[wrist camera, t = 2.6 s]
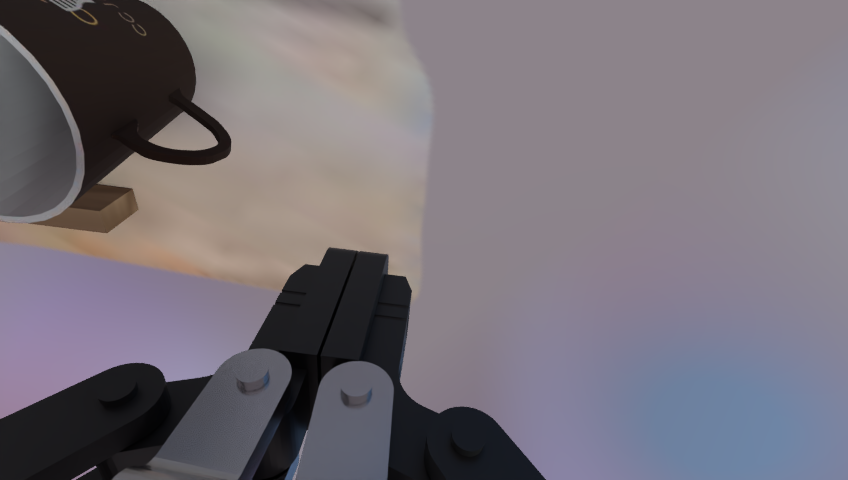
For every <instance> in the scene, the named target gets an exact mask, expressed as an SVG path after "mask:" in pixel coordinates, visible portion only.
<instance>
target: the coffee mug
mask: <svg viewBox="0 0 848 480" xmlns="http://www.w3.org/2000/svg"><path fill="white" fill-rule="evenodd" d="M195 85H196V74H195V67H194V63H193V59H192V56H191V54H190V51H189V49H188V47H187V45H186V43H185V41H184V40H183V38H182V37H181V35H180V33H179V32H178V31H177V30H176V28H175V27H174V26H173V25H172V24H171V23H170V21H169V20H167V19H166V18H165V17H164V16H163V15H162V14H161V13H160V12H158V11H157V10H155V9H154V8H152V7H151V6H149V5H148V4H146V3H144V2H141V1H139V0H0V221H3V222H9V223H32V222H39V221H45V220H48V219H50V218H52V217H54V216H57V215H59V214H61V213H62V212H63V211H65V210H66V209H67V208H68V207H69V206H70V205H72V204H73V203H74V202H75V201H76V200H78V199H79V198H80V197H81V196H82V195H84V194H85V193H86V192H87V191H88V190H90V189H91V188H92V187H93V186H94V185H96V184H97V183H98V182H99V181H100V180H102V179H103V178H104V177H105V176H106V175H108V174H109V173H110V172H111V171H112V170H114V169H115V168H116V167H117V166H118V165H120V164H121V163H122V162H123V161H124V160H125V159H127V158H128V157H129V156H130V155H131V154H133V153H134V152H136V153H138V154H140V155H141V156H143V157H146V158H148V159H152V160H156V161H161V162H166V163H173V164H182V165H206V164H211V163H214V162H217V161H219V160H221V159H224V158H226V157H227V156H228V155H229V154H230V151H231V138H230V136H229V134H228V133H227V131H226V130H225V129H224V128H223V127H222V126H221V124H220V123H219V122H218V121H217V120H215V119H214V118H213V117H211V116H210V115H209V114H207V113H206V112H205V111H203V110H202V109H201V108H199V107H198V106H196V105H195V104H194V103H192V102H191V101H192V98H193V95H194V92H195ZM183 111H184V112H186V113H187V114H188V115H190V116H191V117H193V118H194V119H195V120H197V121H198V122H199V123H200V124H202V125H203V126H204V127H206V128H207V129H208V130H209V131H211V132H212V133H213V135H214V136H215V138H216V140H217V141H218V144H217V145H216V146H215V147H212V148H209V149H205V150H196V151H189V150H175V149H169V148H164V147H161V146H158V145H155V144H153V143H151V142H149V141H148V140H149V139H151V138H152V137H153V136H154V135H155V134H157V133H158V132H159V131H160V130H161V129H163V128H164V127H165V126H166V125H167V124H169V123H170V122H171V121H172V120H173V119H175V118H176V117H177V116H178V115H179V114H180V113H182V112H183Z"/></svg>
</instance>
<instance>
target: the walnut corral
mask: <svg viewBox="0 0 848 480" xmlns="http://www.w3.org/2000/svg"><path fill="white" fill-rule="evenodd" d="M137 210H138V207H137V203H136V200H135V196H134V193H133V189H129V188H121V187H113V186H104V185H94V186H93V187H92V188H91V189H90V190H88V191H87V192H86V193H85V194H84V195H82V196H81V197H80V198H79V199H78V200H76V201H75V202H74V203H73V204H72V205H70V206H69V207H68V208H67V209H66V210H65V211H63V212H62V213H61V214H59V215H57V216H54V217H52V218H50V219H48V220H45V221H39V222H32V223H29V224H37V225H45V226H53V227H61V228H69V229H77V230H85V231H93V232H101V233H108V232H109V231H111V230H112V229H113V228H115V227H116V226H117V225H119V224H120V223H121V222H123V221H124V220H125V219H127V218H128V217H129V216H131V215H132V214H133V213H135V212H136V211H137Z"/></svg>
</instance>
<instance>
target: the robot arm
mask: <svg viewBox="0 0 848 480" xmlns="http://www.w3.org/2000/svg"><path fill="white" fill-rule="evenodd" d="M411 293H412V290H411V288H410V286H409V284H408V281H407V279H406V277H403V276H395V275H388V255H387V254H379V253H371V252H363V251H360V252H358V251H354V250H346V249H338V248H330V247H329V248H328V250H327V251H326V254H325V256H324V258H323V260H322V262H321V264H320V266H316V265H308V264H305V265H304V266H302V267H301V268H300V269H298V270H297V271H296V272H294V273H293V274H292V275H290V277H289V279H288V280H287V282H286V284H285V286H284V287H283V289H282V293H280V295H279V296H278V298H277V300H276V303H275V305H273V307H272V309H271V311H270V312H269V314H268V316H267V318H266V319H265V321H264V323H263V325H262V327H261V328H260V330H259V332H258V334H257V335H256V337H255V339H254V341H253V342H252V344H251V346H250V348H249V350H247V351H244V352H241V353H238V354H236V355H234V356H232V357H231V358H229V359H228V360H226V361H225V362H224V363H223V364H222V365H221V366H220V367H219V369H218V370H217V371H216V372H215V374H214V375H210V376H207V377H202V378H195V379H188V380H180V381H173V382H166V381H165V378H164V376H163V374H162V372H161V371H160V370H159V369H158V368H156V367H155V366H152V365H150V364H144V363H130V364H124V365H120V366H117V367H113V368H111V369H108V370H106V371H104V372H101V373H99V374H97V375H95V376H93V377H90V378H88V379H86V380H84V381H82V382H80V383H78V384H75V385H73V386H71V387H69V388H67V389H65V390H62V391H60V392H58V393H56V394H54V395H52V396H49V397H47V398H45V399H43V400H41V401H39V402H36V403H34V404H32V405H30V406H28V407H26V408H24V409H22V410H19V411H17V412H15V413H13V414H11V415H9V416H6V417H4V418H2V419H0V480H71V479H73V478H75V477H76V476H78V475H80V474H82V473H83V472H85V471H87V470H89V469H90V468H92V467H94V466H96V467H97V468H95V469H94V470H92V471H90V472H89V473H87V474H85V475H83V476H82V477H80V478H78V479H76V480H292V479H293V476H294V474H295V472H296V469H297V466H298V463H299V451H300V448H301V445H302V442H303V439H304V436H305V433H306V430H308V432H307V436H306V440H305V444H304V448H303V452H302V456H301V460H300V464H299V468H298V472H297V475H296V479H295V480H546V479H545V478H544V477H543V476H542V475H541V473H540V472H539V471H538V470H537V469H536V468H535V466H534V465H533V464H532V463H531V462H530V461H529V460H528V458H527V457H526V456H525V455H524V454H523V453H522V451H521V450H520V449H519V448H518V447H517V446H516V444H515V443H514V442H513V441H512V440H511V439H510V438H509V436H508V435H507V434H506V433H505V432H504V430H503V429H502V428H501V427H500V426H499V425H498V423H496V421H495V420H494V419H493V418H491V417H490V416H488V415H487V414H485V413H484V412H482V411H480V410H477V409H474V408H469V407H454V408H449V409H447V410H445V411H443V412H441V413H440V414H439V413H436V412H434V411H432V410H430V409H428V408H425V407H423V406H422V405H420V404H418V403H416V402H415V401H414V400H412V399H411V398H410V397H409V396H408V395H407V394H406V392H405V391H404V389H403V388H402V386H401V383H400V377H401V370H402V363H403V357H404V351H405V344H406V338H407V330H408V321H409V311H410V302H411Z"/></svg>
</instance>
